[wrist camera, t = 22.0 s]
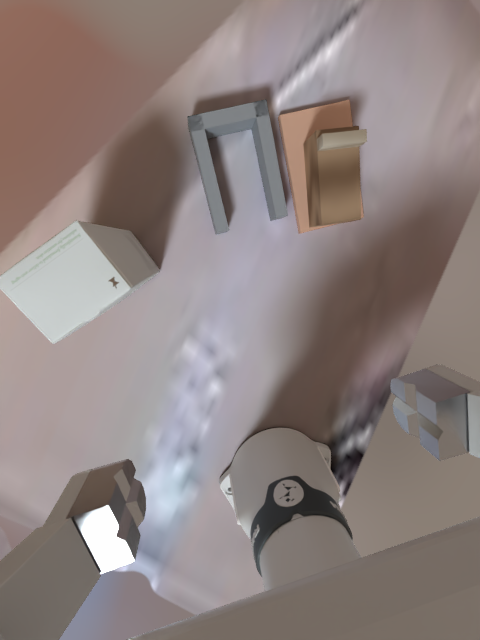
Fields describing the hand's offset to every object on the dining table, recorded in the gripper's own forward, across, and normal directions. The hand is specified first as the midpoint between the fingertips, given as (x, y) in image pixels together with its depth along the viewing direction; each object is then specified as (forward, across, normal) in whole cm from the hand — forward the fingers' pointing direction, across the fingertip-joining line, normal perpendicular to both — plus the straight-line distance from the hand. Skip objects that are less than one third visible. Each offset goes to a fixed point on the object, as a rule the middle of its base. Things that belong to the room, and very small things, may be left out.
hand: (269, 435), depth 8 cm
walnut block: (+30, -17, -10) cm, 36 cm away
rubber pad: (+31, -18, -12) cm, 38 cm away
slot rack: (+31, -6, -13) cm, 34 cm away
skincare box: (+31, +11, -6) cm, 34 cm away
